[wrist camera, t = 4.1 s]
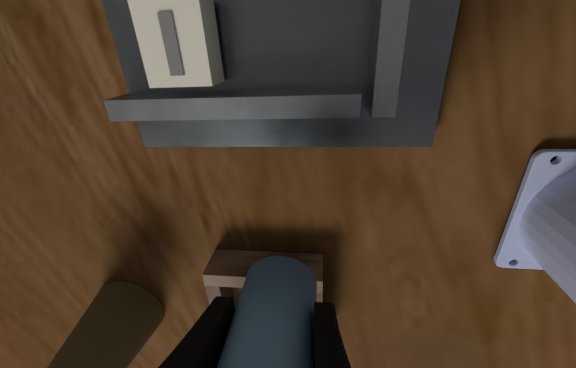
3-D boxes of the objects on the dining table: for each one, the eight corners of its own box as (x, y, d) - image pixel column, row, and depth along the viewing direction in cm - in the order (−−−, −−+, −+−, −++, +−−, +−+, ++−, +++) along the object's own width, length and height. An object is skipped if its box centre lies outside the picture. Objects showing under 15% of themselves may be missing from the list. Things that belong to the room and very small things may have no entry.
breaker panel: (472, -123, 11) (522, -177, 8) (424, 139, 16) (446, 161, 13) (96, -81, 13) (32, -113, 10) (155, 140, 18) (123, 159, 15)
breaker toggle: (213, -1, 13) (197, -6, 11) (224, 81, 14) (211, 86, 13) (150, 4, 13) (125, 0, 11) (167, 82, 15) (148, 88, 13)
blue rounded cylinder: (316, 257, 11) (310, 454, 6) (317, 309, 13) (311, 508, 7) (242, 254, 12) (173, 437, 6) (250, 305, 13) (199, 491, 8)
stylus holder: (323, 253, 20) (322, 281, 18) (322, 328, 24) (321, 358, 22) (215, 249, 21) (202, 274, 19) (230, 320, 25) (220, 349, 23)
